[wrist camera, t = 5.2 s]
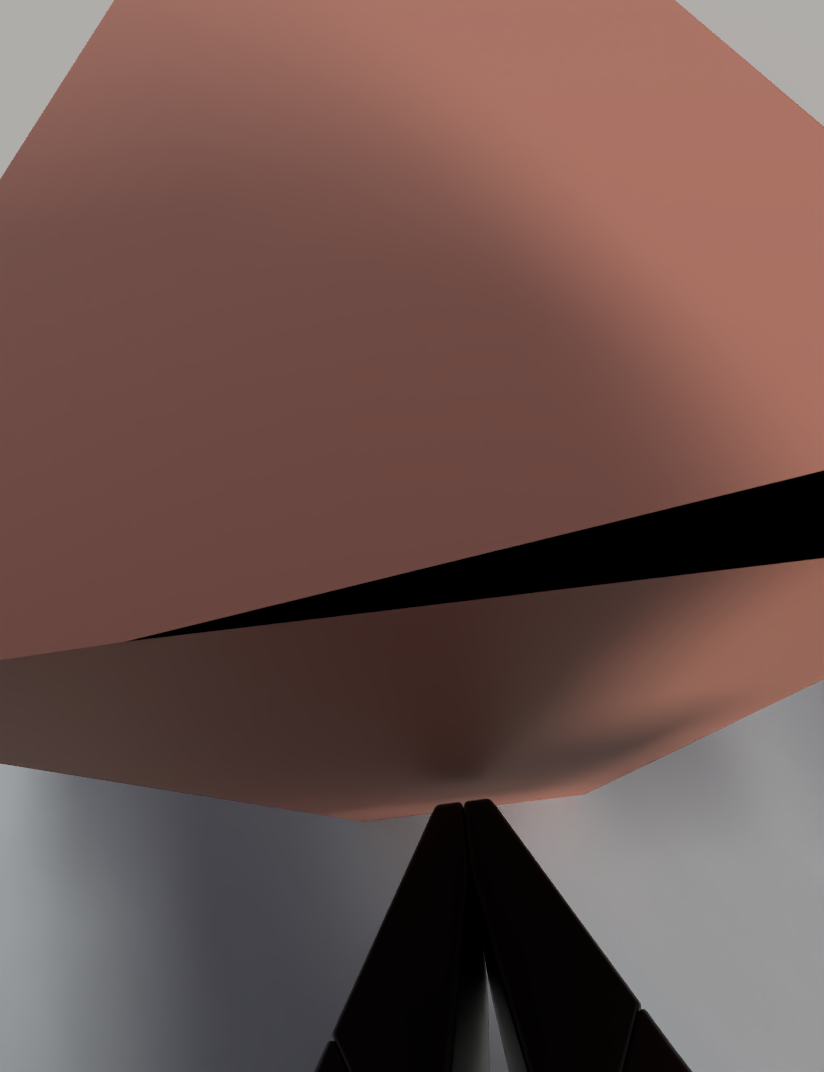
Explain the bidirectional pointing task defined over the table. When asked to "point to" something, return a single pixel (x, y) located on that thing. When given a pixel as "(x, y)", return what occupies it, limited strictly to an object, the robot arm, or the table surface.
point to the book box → (406, 399)
